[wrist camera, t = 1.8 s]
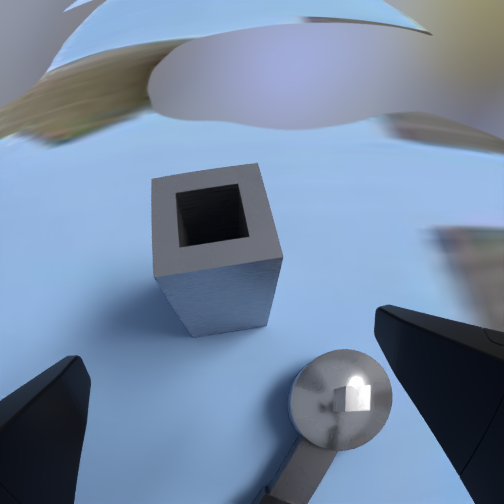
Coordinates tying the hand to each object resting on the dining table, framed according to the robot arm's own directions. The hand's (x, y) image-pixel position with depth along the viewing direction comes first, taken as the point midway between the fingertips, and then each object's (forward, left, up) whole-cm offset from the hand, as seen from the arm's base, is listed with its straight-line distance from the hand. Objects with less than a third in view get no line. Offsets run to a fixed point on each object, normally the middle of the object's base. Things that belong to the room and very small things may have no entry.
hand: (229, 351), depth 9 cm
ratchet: (-3, -6, -12) cm, 14 cm away
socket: (+5, +4, -12) cm, 13 cm away
